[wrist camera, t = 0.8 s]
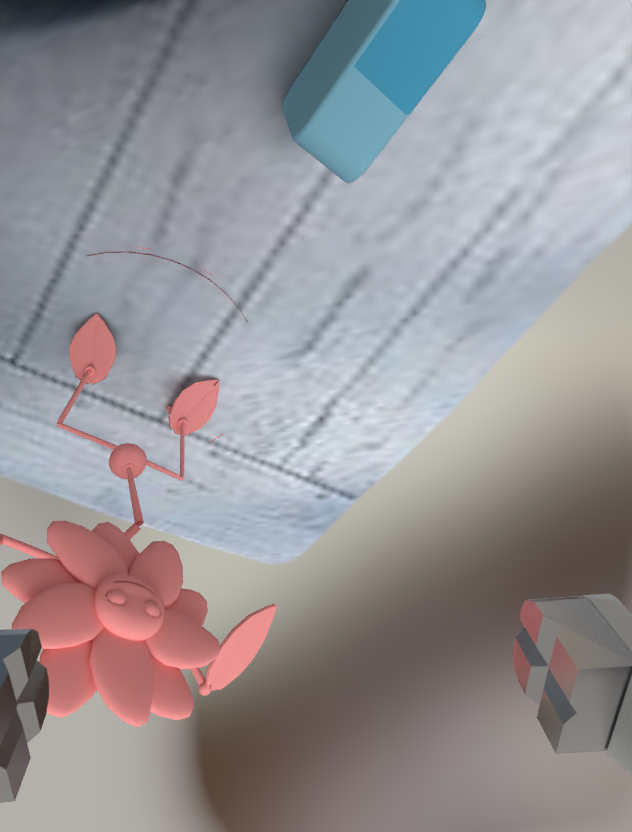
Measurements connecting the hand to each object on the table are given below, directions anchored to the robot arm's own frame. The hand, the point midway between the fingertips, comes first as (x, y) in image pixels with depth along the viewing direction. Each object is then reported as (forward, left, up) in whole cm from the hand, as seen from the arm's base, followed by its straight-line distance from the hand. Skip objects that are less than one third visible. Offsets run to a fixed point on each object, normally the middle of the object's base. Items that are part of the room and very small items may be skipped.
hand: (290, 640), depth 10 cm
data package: (-7, +5, -43) cm, 44 cm away
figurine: (+21, +3, -43) cm, 48 cm away
